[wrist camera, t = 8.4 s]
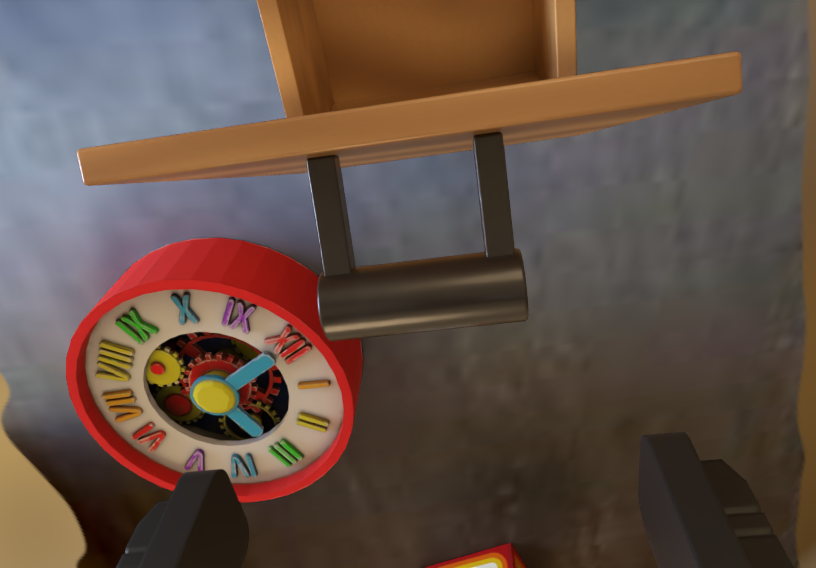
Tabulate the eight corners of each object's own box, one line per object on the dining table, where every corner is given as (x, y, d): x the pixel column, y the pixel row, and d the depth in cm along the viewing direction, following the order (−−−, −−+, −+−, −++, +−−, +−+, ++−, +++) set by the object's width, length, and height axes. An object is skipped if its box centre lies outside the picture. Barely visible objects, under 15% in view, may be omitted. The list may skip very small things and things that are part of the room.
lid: (73, 149, 14) (125, 386, 14) (742, 49, 12) (753, 322, 13) (294, 157, 31) (311, 265, 32) (579, 117, 29) (588, 231, 30)
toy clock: (6, 380, 43) (200, 219, 36) (52, 332, 48) (229, 182, 41) (218, 536, 51) (412, 427, 44) (238, 480, 56) (415, 374, 49)
